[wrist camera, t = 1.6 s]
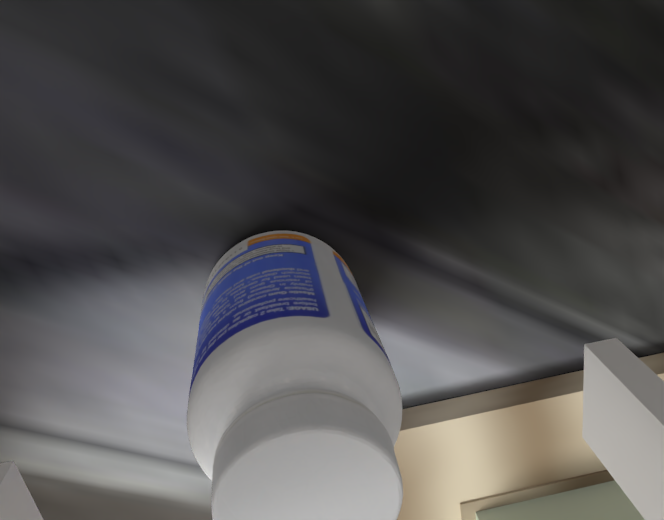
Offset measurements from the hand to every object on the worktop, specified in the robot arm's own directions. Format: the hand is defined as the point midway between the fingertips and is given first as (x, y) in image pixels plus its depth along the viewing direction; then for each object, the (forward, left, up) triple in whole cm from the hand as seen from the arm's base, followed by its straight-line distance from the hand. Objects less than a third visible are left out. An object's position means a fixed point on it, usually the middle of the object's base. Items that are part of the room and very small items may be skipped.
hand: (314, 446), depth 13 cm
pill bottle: (0, 0, -8) cm, 8 cm away
